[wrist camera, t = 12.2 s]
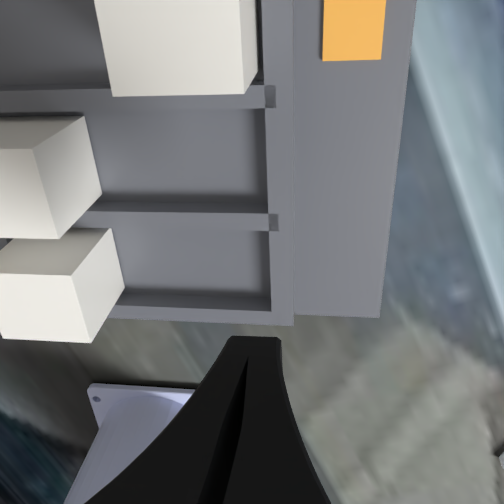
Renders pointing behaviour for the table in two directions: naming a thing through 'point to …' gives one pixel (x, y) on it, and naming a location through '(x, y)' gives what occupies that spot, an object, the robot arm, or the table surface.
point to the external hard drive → (502, 459)
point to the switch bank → (235, 160)
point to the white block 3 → (179, 46)
